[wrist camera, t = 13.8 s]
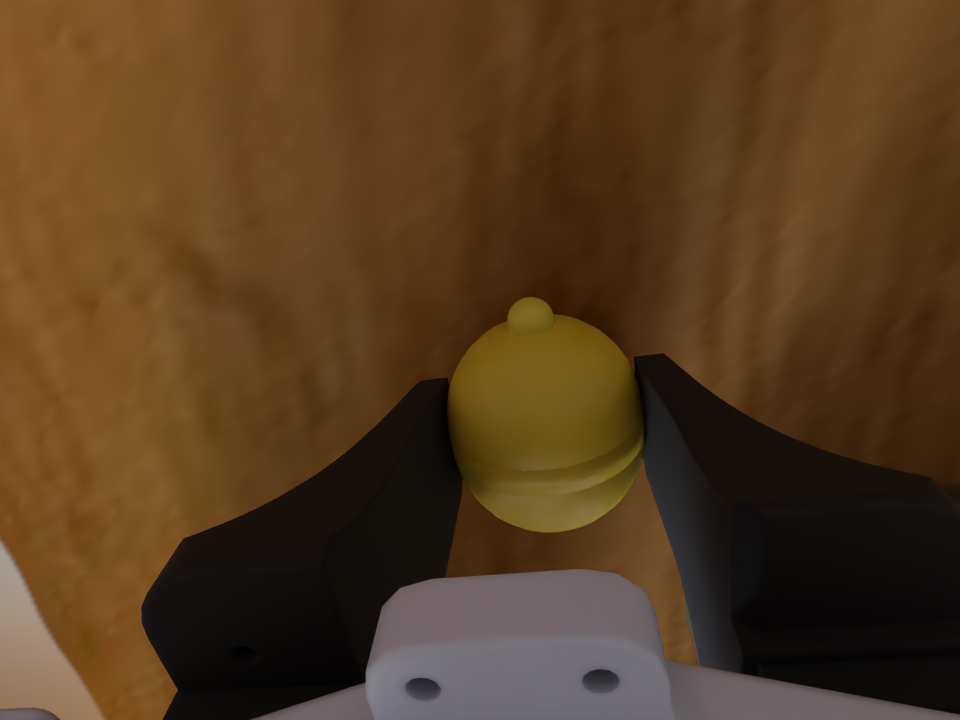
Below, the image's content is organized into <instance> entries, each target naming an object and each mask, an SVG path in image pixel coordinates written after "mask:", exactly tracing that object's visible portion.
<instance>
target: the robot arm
mask: <svg viewBox="0 0 960 720" xmlns="http://www.w3.org/2000/svg"><path fill="white" fill-rule="evenodd" d="M634 365H635V375H636V378H637V380H638V382H639V387H640V394H641V400H642V407H643V422H644V452H643V459H644V464H645V469H646V474H647V477H648V480H649V483H650V486H651V489H652V492H653V495H654V498H655V501H656V504H657V507H658V510H659V513H660V515H661V518H662V521H663V524H664V527H665V530H666V533H667V536H668V539H669V541H670V544H671V547H672V550H673V553H674V556H675V559H676V562H677V566H678V569H679V573H680V576H681V580H682V584H683V589H684V593H685V598H686V602H687V607H688V611H689V615H690V620H691V625H692V629H693V634H694V638H695V643H696V648H697V652H698V657H699V662H700V666H697V665H692V664H687V663H681V662H676V661H671V660H667V659H665V657H664V653H663V648H662V643H661V638H660V633H659V628H658V624H657V619H656V614H655V612H654V610H653V607H652V605H651V603H650V601H649V599H648V597H647V594H646V592H645V590H643V589H642V588H640V587H639V586H637V585H635V584H634V583H632V582H630V581H629V580H627V579H625V578H624V577H622V576H620V575H619V574H617V573H611V572H603V571H595V570H587V569H570V570H556V571H541V572H527V573H512V574H497V575H483V576H468V577H454V578H445V575H446V570H447V565H448V560H449V555H450V550H451V545H452V540H453V535H454V530H455V525H456V520H457V515H458V510H459V505H460V500H461V494H462V485H463V479H462V477H461V474H460V471H459V468H458V465H457V463H456V460H455V458H454V453H453V449H452V444H451V440H450V436H449V431H448V422H447V400H448V392H449V387H450V386H449V382H448V378H439V379H430V380H421V381H420V382H419V383H418V384H416V385H415V386H414V387H413V388H412V389H411V390H410V391H409V392H408V394H407V395H406V396H405V397H404V398H403V399H402V400H401V401H400V402H399V403H398V404H397V405H396V406H395V407H394V408H393V409H392V410H391V411H390V412H389V413H388V414H387V415H386V416H385V417H384V418H383V419H382V420H381V421H380V422H379V423H378V424H377V425H376V426H375V427H374V428H373V429H372V430H371V431H370V432H368V433H367V434H366V435H365V436H364V437H363V438H362V439H361V440H360V441H358V442H357V443H356V444H355V445H354V446H353V447H352V448H351V449H349V450H348V451H347V452H346V453H345V454H343V455H342V456H341V457H339V458H338V459H337V460H336V461H334V462H333V463H331V464H330V465H329V466H327V467H326V468H325V469H323V470H322V471H320V472H319V473H317V474H316V475H314V476H313V477H311V478H310V479H308V480H306V481H305V482H303V483H301V484H300V485H298V486H296V487H295V488H293V489H292V490H290V491H288V492H287V493H285V494H283V495H282V496H280V497H278V498H276V499H274V500H272V501H270V502H268V503H266V504H265V505H263V506H261V507H259V508H257V509H254V510H252V511H250V512H248V513H246V514H244V515H242V516H240V517H237V518H235V519H233V520H230V521H228V522H225V523H223V524H220V525H218V526H215V527H213V528H210V529H208V530H205V531H202V532H200V533H197V534H195V535H192V536H189V537H186V538H184V539H183V540H182V542H181V543H180V544H179V546H178V547H177V549H176V550H175V552H174V553H173V555H172V556H171V558H170V559H169V561H168V563H167V564H166V566H165V567H164V569H163V570H162V572H161V573H160V575H159V576H158V578H157V579H156V581H155V582H154V584H153V585H152V587H151V588H150V590H149V591H148V593H147V595H146V597H145V600H144V602H143V605H142V607H141V610H142V624H143V627H144V629H145V632H146V634H147V637H148V639H149V641H150V643H151V644H152V646H153V648H154V649H155V651H156V653H157V655H158V656H159V658H160V660H161V662H162V663H163V665H164V667H165V668H166V670H167V672H168V674H169V675H170V677H171V679H172V681H173V682H174V684H175V686H176V687H177V689H178V691H177V693H176V695H175V697H174V699H173V701H172V703H171V704H170V706H169V708H168V710H167V712H166V714H165V716H164V718H163V720H960V507H959V506H958V505H957V504H956V502H955V501H954V500H953V499H952V498H951V497H950V496H949V495H948V494H947V493H946V492H945V491H944V490H943V489H942V488H941V487H940V486H939V485H938V484H937V483H936V482H935V481H934V480H933V479H932V478H931V477H928V476H923V475H918V474H913V473H908V472H904V471H899V470H894V469H889V468H884V467H880V466H875V465H871V464H868V463H864V462H861V461H857V460H854V459H850V458H847V457H843V456H840V455H837V454H834V453H831V452H828V451H825V450H822V449H819V448H816V447H814V446H811V445H809V444H806V443H804V442H801V441H799V440H796V439H793V438H791V437H789V436H787V435H784V434H782V433H780V432H778V431H776V430H774V429H772V428H770V427H768V426H766V425H764V424H762V423H760V422H758V421H756V420H754V419H752V418H750V417H749V416H747V415H745V414H743V413H742V412H740V411H739V410H737V409H736V408H734V407H732V406H731V405H729V404H728V403H726V402H725V401H723V400H722V399H720V398H719V397H717V396H716V395H714V394H713V393H712V392H710V391H709V390H708V389H706V388H705V387H704V386H702V385H701V384H700V383H698V382H697V381H696V380H695V379H694V378H692V377H691V376H690V375H689V374H688V373H686V372H685V371H684V370H683V369H682V368H680V367H679V366H678V365H677V364H676V363H675V362H673V361H672V360H671V359H670V358H669V357H667V356H666V355H665V354H664V353H663V354H654V355H645V356H636V357H634ZM0 720H60V719H59V718H57V717H56V715H54V714H53V713H51V712H49V711H47V710H44V709H39V708H16V709H0Z"/></svg>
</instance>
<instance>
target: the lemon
mask: <svg viewBox="0 0 960 720" xmlns="http://www.w3.org/2000/svg"><path fill="white" fill-rule="evenodd" d="M447 422H448V431H449V436H450V440H451V444H452V449H453V453H454V458H455V460H456V463H457V465H458V468H459V471H460V474H461V477H462V479H463V481H464V482H465V484H466V485H467V487H468V488H469V490H470V491H471V493H472V494H473V495H474V497H475V498H476V499H477V501H478V502H480V503H481V504H482V505H483V506H484V507H485V508H486V509H488V510H489V511H490V512H491V513H492V514H494V515H495V516H496V517H498V518H500V519H502V520H504V521H506V522H508V523H510V524H512V525H514V526H517V527H520V528H523V529H526V530H530V531H537V532H561V531H568V530H573V529H576V528H579V527H583V526H585V525H587V524H589V523H592V522H594V521H596V520H597V519H599V518H600V517H601V516H603V515H604V514H606V513H607V512H608V511H610V510H611V509H612V508H614V507H615V506H616V505H617V504H618V503H619V502H620V501H621V500H622V498H623V497H624V495H625V494H626V493H627V491H628V490H629V488H630V486H631V485H632V483H633V481H634V480H635V478H636V476H637V473H638V470H639V467H640V464H641V460H642V456H643V452H644V422H643V407H642V400H641V394H640V387H639V382H638V380H637V378H636V375H635V373H634V371H633V369H632V366H631V364H630V362H629V361H628V359H627V358H626V356H625V355H624V354H623V352H622V351H621V350H620V348H619V347H618V346H617V345H616V344H615V343H614V342H613V341H612V340H611V339H610V338H609V337H607V336H606V335H605V334H604V333H602V332H601V331H600V330H599V329H597V328H595V327H593V326H592V325H589V324H587V323H585V322H583V321H581V320H579V319H576V318H573V317H569V316H564V315H558V314H553V312H552V310H551V308H550V306H549V305H548V304H547V303H546V302H545V301H543V300H541V299H539V298H536V297H526V298H522V299H520V300H518V301H517V302H516V303H514V305H513V306H512V307H511V308H510V310H509V313H508V317H507V321H506V322H503V323H501V324H499V325H497V326H495V327H493V328H492V329H490V330H488V331H487V332H486V333H485V334H483V335H482V336H481V337H480V338H479V339H478V340H477V341H476V342H475V343H473V344H472V345H471V347H470V348H469V349H468V350H467V352H466V353H465V355H464V356H463V358H462V359H461V361H460V362H459V364H458V366H457V368H456V371H455V373H454V376H453V378H452V381H451V384H450V387H449V392H448V400H447Z"/></svg>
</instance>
